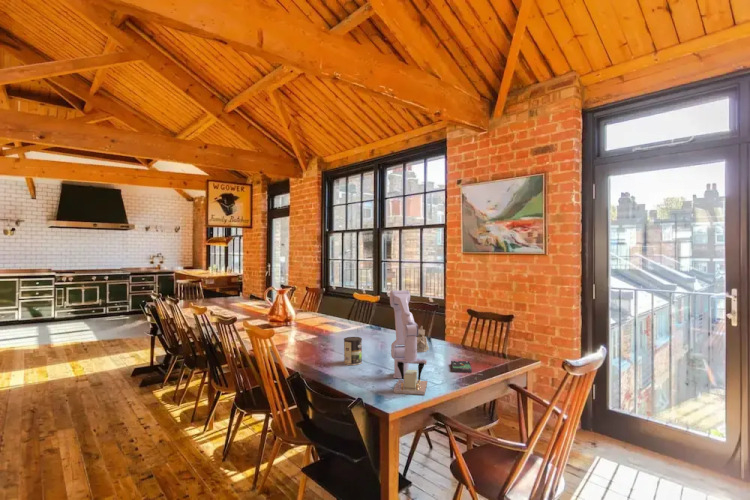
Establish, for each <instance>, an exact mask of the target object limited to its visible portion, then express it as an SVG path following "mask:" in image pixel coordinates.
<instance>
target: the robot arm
mask: <svg viewBox="0 0 750 500" xmlns="http://www.w3.org/2000/svg"><path fill="white" fill-rule="evenodd" d="M410 301H411V293H410V291H409V289H406V290H402V289H401V290H392V289H391V290H390V292H389V304H390V307H391V308H392V309H393V312H394V325H395V340H394V341H393V342H392V343H391V344H390V345H391V348H390V355H391V358H392V359H393V360H394V361H393V363H394V371H393V372H394V373H393V376H392V378H393V379H401V380H404V376H405V372H406V370H409V364H414V365H417V366H418V370H417V381H418V380H420V381H421V375H422V371H423V368H424V366H425V365H427V363H428V362H427V359H423V358H419V357H418V352H417V337H416V336H418V333H419V330H418V329H419V325H418V323H417V322H415V318H414V316H413V315H414V314H413V313H412V312H410V308H409V303H410Z"/></svg>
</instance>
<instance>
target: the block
mask: <svg viewBox="0 0 750 500" xmlns="http://www.w3.org/2000/svg"><path fill="white" fill-rule="evenodd" d="M417 381H418V370H417V369H408V370H406V372H405V388H416V383H417Z"/></svg>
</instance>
